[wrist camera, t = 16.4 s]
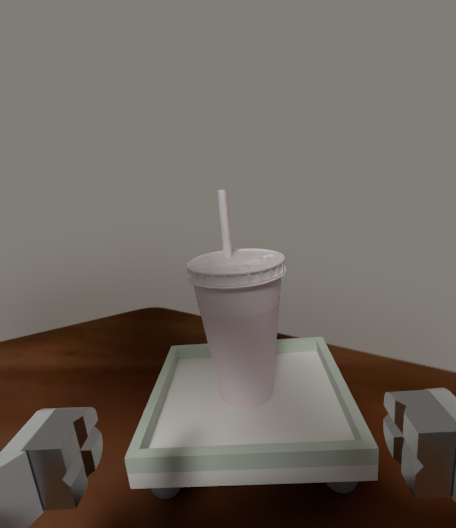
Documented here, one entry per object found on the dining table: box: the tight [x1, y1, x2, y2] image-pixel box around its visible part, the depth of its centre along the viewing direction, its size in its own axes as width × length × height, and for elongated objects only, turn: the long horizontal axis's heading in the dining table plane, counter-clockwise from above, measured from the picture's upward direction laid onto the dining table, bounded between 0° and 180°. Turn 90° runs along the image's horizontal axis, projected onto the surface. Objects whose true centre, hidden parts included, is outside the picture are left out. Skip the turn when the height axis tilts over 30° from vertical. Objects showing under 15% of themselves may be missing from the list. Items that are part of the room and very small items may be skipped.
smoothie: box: [187, 190, 287, 408], centre depth 22 cm, size 6×6×14 cm
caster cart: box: [124, 337, 379, 499], centre depth 23 cm, size 13×12×4 cm
